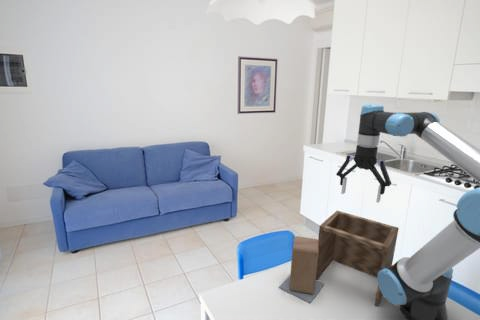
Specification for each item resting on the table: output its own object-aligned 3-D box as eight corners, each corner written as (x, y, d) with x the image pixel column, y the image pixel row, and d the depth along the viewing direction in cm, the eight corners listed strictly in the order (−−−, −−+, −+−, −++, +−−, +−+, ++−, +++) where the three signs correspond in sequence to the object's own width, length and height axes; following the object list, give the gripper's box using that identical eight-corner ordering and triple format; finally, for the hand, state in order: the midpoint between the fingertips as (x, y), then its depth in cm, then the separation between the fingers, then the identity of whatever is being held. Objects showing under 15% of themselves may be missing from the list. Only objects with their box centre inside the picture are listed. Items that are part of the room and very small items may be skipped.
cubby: (389, 280, 127) (398, 227, 120) (377, 307, 111) (388, 248, 105) (331, 258, 142) (336, 210, 136) (314, 278, 127) (319, 225, 120)
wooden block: (314, 295, 116) (318, 251, 111) (289, 291, 118) (292, 247, 113) (314, 280, 125) (318, 238, 120) (291, 275, 127) (294, 234, 122)
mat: (324, 284, 123) (324, 283, 123) (310, 303, 112) (310, 302, 112) (294, 271, 131) (294, 270, 131) (278, 287, 120) (278, 286, 120)
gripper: (405, 148, 107) (396, 202, 112) (338, 139, 122) (333, 187, 127) (401, 152, 101) (392, 208, 106) (331, 142, 116) (326, 192, 121)
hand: (360, 197), depth 117 cm, fingers open, 13 cm apart
